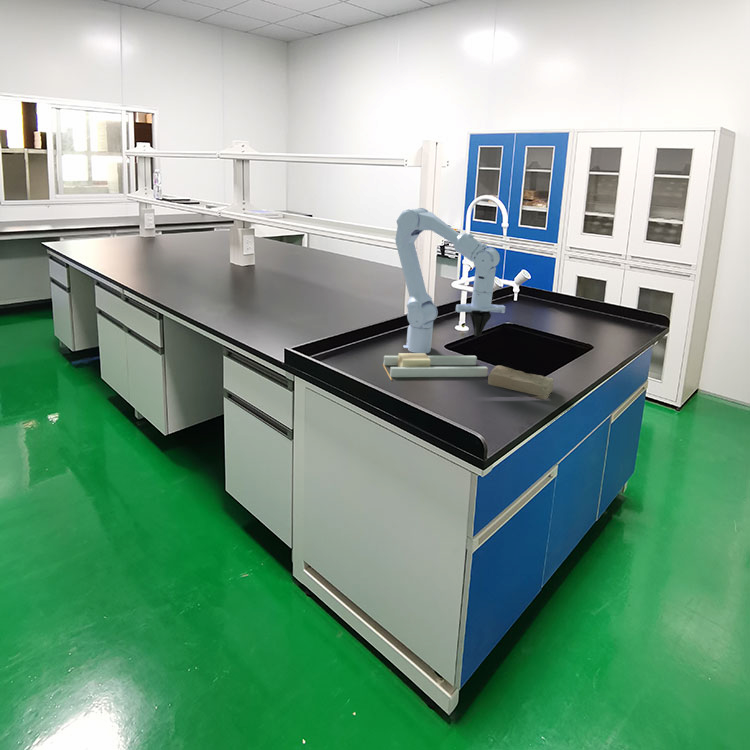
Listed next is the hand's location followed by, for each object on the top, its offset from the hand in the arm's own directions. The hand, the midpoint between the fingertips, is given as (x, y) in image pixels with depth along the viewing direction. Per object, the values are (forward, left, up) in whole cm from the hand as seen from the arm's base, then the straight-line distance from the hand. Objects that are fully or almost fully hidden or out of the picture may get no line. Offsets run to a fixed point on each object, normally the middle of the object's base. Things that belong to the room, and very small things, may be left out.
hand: (477, 335), depth 178 cm
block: (+6, -20, -8) cm, 23 cm away
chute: (+6, -14, -9) cm, 18 cm away
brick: (+19, +7, -10) cm, 22 cm away
